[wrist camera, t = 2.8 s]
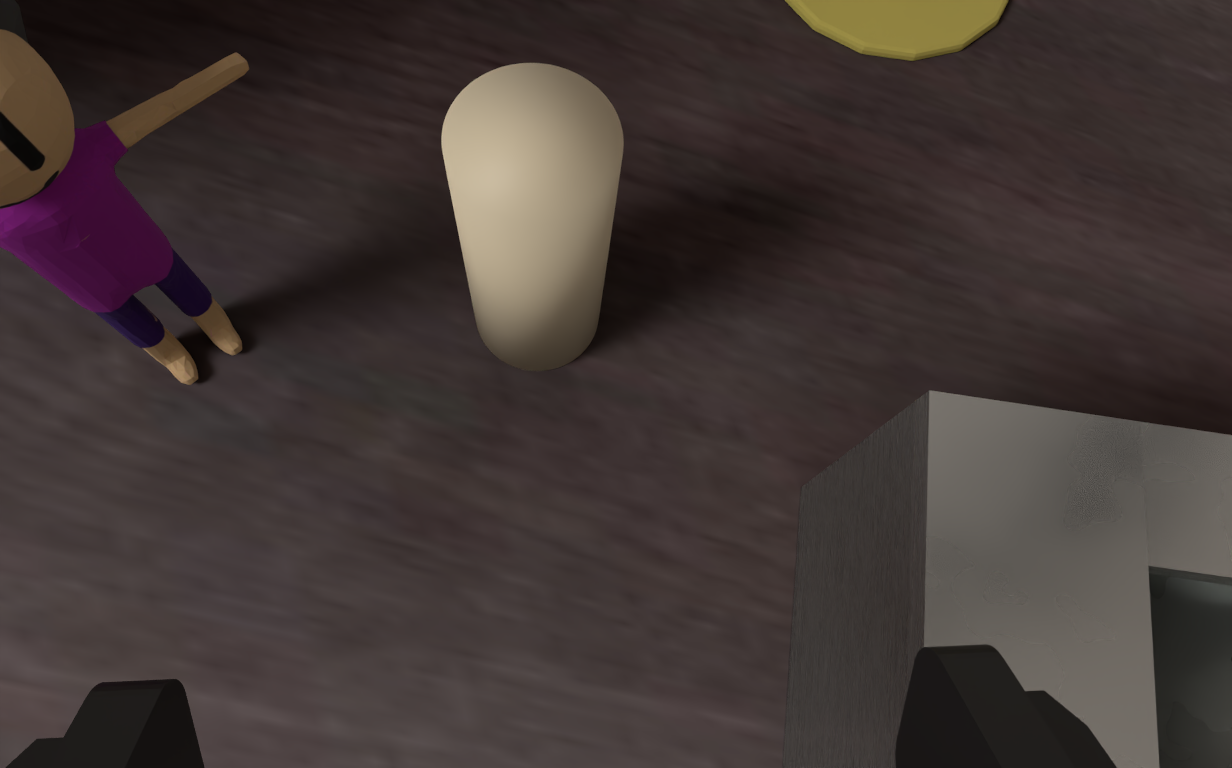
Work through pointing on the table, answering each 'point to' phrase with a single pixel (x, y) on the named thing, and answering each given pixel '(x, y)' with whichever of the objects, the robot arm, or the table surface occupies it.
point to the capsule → (534, 207)
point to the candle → (901, 24)
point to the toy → (96, 200)
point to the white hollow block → (1018, 577)
